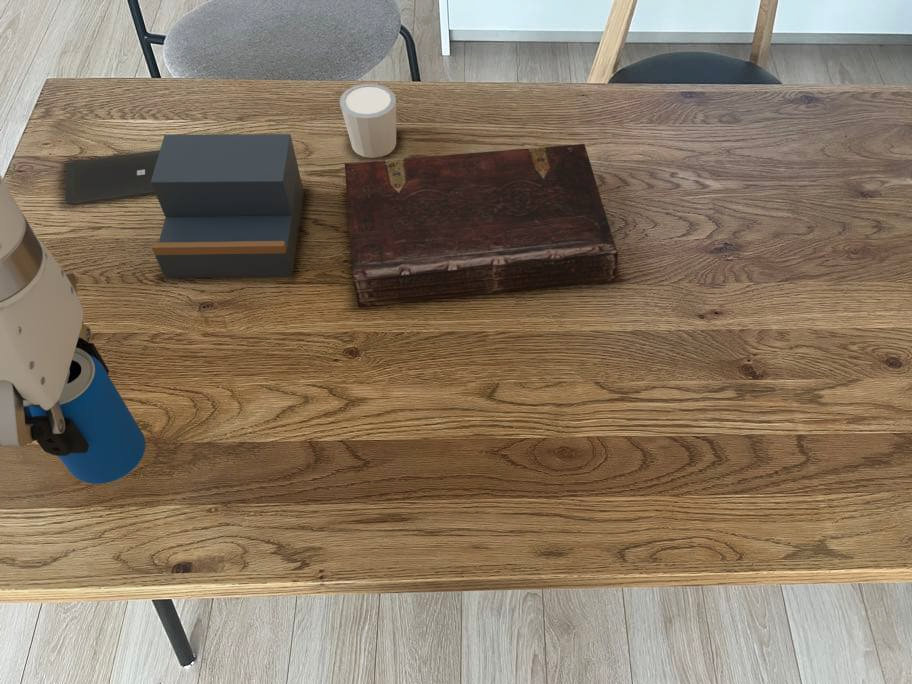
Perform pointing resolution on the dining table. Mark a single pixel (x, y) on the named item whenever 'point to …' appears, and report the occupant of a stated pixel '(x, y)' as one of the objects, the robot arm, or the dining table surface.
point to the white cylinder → (370, 119)
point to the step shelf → (228, 205)
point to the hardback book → (476, 224)
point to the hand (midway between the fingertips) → (78, 410)
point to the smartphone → (110, 178)
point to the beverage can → (98, 424)
